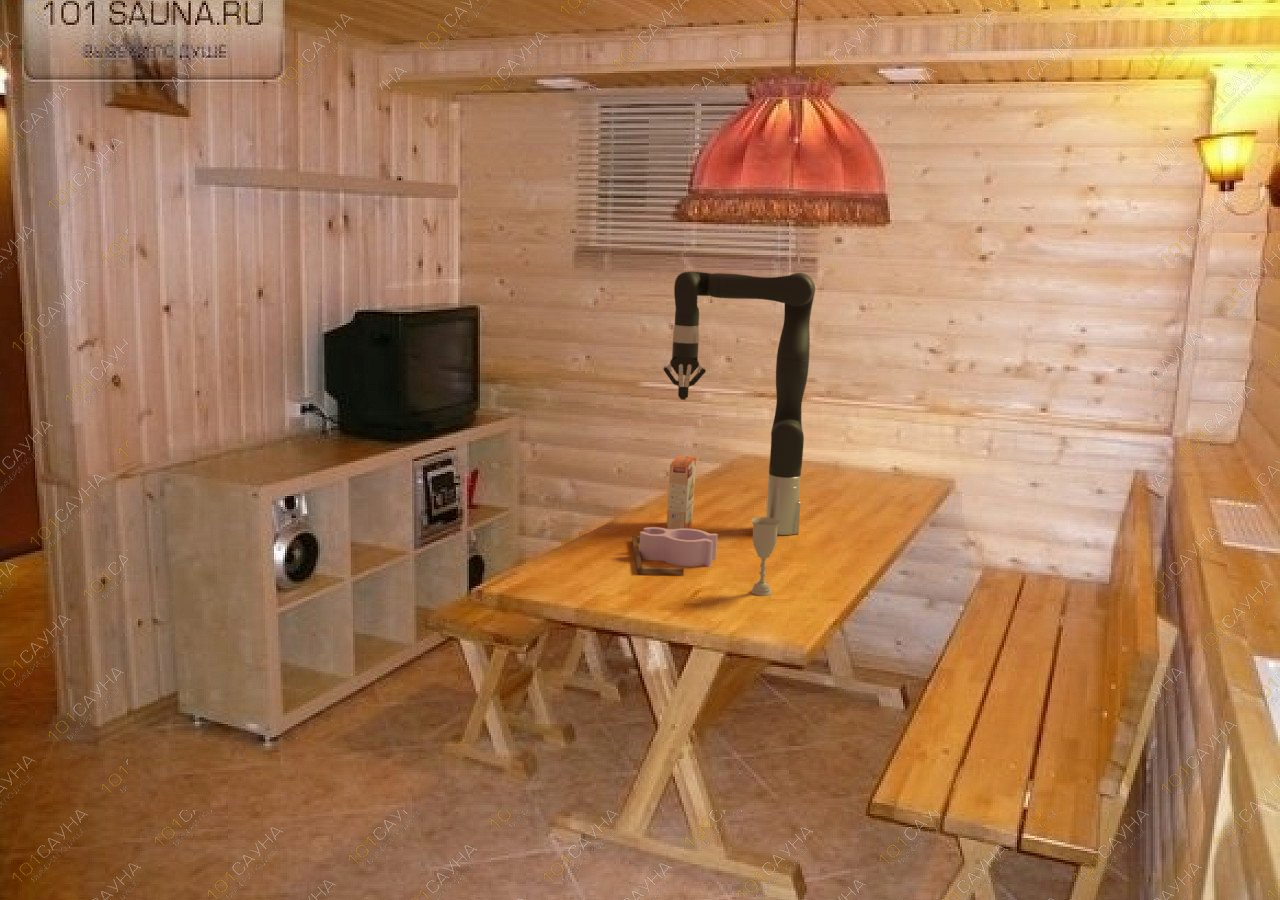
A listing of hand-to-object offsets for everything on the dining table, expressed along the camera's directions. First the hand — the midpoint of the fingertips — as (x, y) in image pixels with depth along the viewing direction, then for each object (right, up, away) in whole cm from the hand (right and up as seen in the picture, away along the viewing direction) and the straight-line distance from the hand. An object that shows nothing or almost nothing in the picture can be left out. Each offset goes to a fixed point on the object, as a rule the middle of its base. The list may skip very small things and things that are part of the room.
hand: (682, 399), depth 319 cm
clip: (-3, -44, -30) cm, 53 cm away
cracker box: (-1, -38, -2) cm, 39 cm away
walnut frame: (-8, -44, -30) cm, 54 cm away
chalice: (+17, -50, -55) cm, 76 cm away
